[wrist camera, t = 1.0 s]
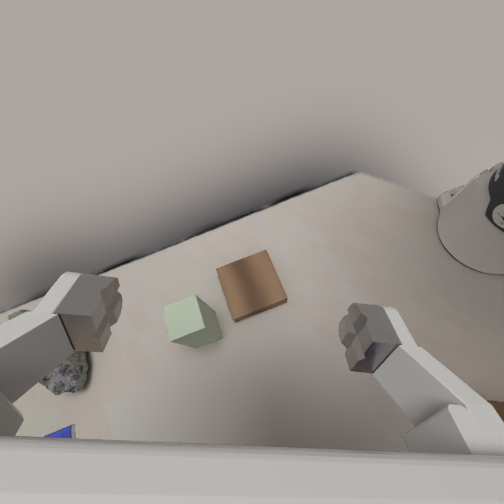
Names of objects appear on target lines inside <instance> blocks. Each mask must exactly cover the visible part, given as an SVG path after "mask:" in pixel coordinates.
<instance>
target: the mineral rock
mask: <svg viewBox="0 0 504 504" xmlns="http://www.w3.org/2000/svg"><path fill="white" fill-rule="evenodd" d="M26 311H28V310H20V311H17V312H15V313H12V314H11V315H9V317H8V319H9V320H11V319H13V318H15V317H17V316H19V315H21V314H23V313H25V312H26ZM29 312H30V311H29ZM88 369H89V368H88V362H87V358H86V351H74V353H73V354H72V355H70V356H69V357H68V358H67V359H66V360H64V361H63V362H62V363H61V364H60V365H58V366H57V367H56V368H55V369H53V370H52V371H51V372H50V373H49V374H47V375H46V376H45V377H44V378H43V379H41V380H40V381H39V383H41V384H42V385H44V386H46V388H47V389H49V390H50V391H51V392H53V393H54V394H55V395H60V394H62V393H63V392H67V391H68V392H72V393H74V392H77V391H79V390H80V389H82V388H83V386H84V384H85V382H86V379H87V374H86V372H87V370H88Z"/></svg>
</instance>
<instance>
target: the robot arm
mask: <svg viewBox="0 0 504 504" xmlns="http://www.w3.org/2000/svg"><path fill="white" fill-rule="evenodd" d="M451 196H452V197H451ZM438 205H439V209H440V215H439V218H438V225H437V226H438V234H439V237H440V239H441V241H442V243H443V245H444V246H445V248H446V249H447V250H448V252H449V253H450V254H451V255H452V256H453V257H455V258H456V259H457V260H458V261H460V262H461V263H463V264H464V265H466V266H468V267H470V268H472V269H475V270H477V271H480V272H484V273H489V274H504V163H499V164H497V165H495V166H494V167H492V168H491V169H490V170H489V171H488V170H485V171H483V172H481V173H480V174H479V175H476V176H475V177H474V178H472V179H471V180H470V181H469V182H468V183H467V184H466V185H464V186H461V187H458V188H455V189H452V190H450V191H447V192H444V193H442V194H441V195H440V196H439V197H438ZM119 286H120V285H119V281H118V278H115V277H107V276H99V275H92V274H82V273H74V272H65V273H64V274H62V275H61V276H60V278H59V279H58V280H57V281H56V282H55V284H54V285H53V286H52V288H51V289H50V290H49V291H48V293H47V294H46V295H45V296H44V298H43V299H42V300H41V301H40V303H39V304H38V305H37V306H36V308H35V309H34V310H33V311H32V312H29V311H26V312H25V313H23V314H21V315H19V316H17V317H15V318H13V319H11V320H9V321H7V322H5V323H3V324H2V325H0V504H504V422H503V421H502V419H501V418H500V416H499V415H498V413H497V412H496V410H495V409H494V407H493V406H492V405H491V404H490V403H488V402H487V401H486V400H485V399H483V398H482V397H481V396H480V395H479V394H477V393H476V392H475V391H474V390H473V389H471V388H470V387H469V386H468V385H467V384H465V383H464V382H463V381H462V380H461V379H459V378H458V377H457V376H456V375H455V374H453V373H452V372H451V371H450V370H449V369H447V368H446V367H445V366H444V365H443V364H441V363H440V362H439V361H438V360H436V359H435V358H434V357H433V356H432V355H430V354H429V353H428V352H427V351H426V350H424V349H423V348H422V347H417V345H416V343H415V341H414V339H413V338H412V336H411V334H410V332H409V331H408V329H407V327H406V325H405V323H404V322H403V320H402V318H401V316H400V314H399V313H398V311H397V310H396V309H395V308H394V307H388V306H378V305H369V304H359V303H353V304H351V305H350V306H349V308H348V312H349V314H348V315H346V316H344V317H343V318H342V320H341V322H340V325H339V337H340V340H341V343H342V344H343V345H344V346H345V347H346V348H347V349H346V352H345V356H346V359H347V363H348V366H349V369H350V371H354V372H364V373H373V376H374V377H375V378H376V380H377V381H378V382H379V383H380V384H381V386H382V387H383V388H384V389H385V391H386V392H387V393H388V394H389V395H390V397H391V398H392V399H393V400H394V402H395V403H396V404H397V405H398V406H399V408H400V409H401V410H402V411H403V413H404V414H405V415H406V416H407V417H408V419H409V420H410V421H411V422H412V424H413V425H414V426H415V428H414V429H412V430H411V431H409V432H408V433H406V435H405V437H404V439H405V442H406V444H407V447H408V449H409V452H395V451H371V450H346V449H322V448H297V447H273V446H248V445H224V444H199V443H175V442H150V441H125V440H101V439H76V438H51V437H26V436H15V435H16V433H17V431H18V429H19V428H20V426H21V424H22V422H23V421H24V419H23V416H22V414H21V413H20V412H19V411H18V410H17V409H16V407H15V406H14V405H13V404H12V403H14V402H15V401H16V400H17V399H18V398H20V397H21V396H22V395H23V394H25V393H26V392H27V391H28V390H29V389H31V388H32V387H33V386H34V385H35V384H37V383H38V382H39V381H40V380H41V379H43V378H44V377H45V376H46V375H47V374H49V373H50V372H51V371H52V370H53V369H55V368H56V367H57V366H58V365H60V364H61V363H62V362H63V361H64V360H66V359H67V358H68V357H69V356H70V355H72V354H73V353H74V351H91V352H103V351H104V349H105V347H106V345H107V342H108V340H109V338H110V336H111V330H110V327H111V326H112V325H114V324H115V323H117V321H118V319H119V316H120V313H121V309H122V295H121V294H120V293H119V292H118V291H117V290H118V288H119Z"/></svg>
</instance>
